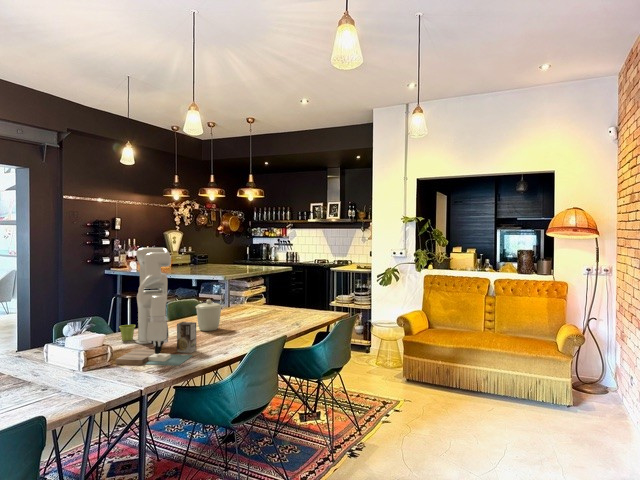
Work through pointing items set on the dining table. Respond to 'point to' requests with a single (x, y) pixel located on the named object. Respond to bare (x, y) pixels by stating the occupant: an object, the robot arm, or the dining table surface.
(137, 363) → the walnut deck
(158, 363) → the teal mat
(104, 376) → the dining table surface
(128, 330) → the plant pot
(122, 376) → the dining table surface
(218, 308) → the canister
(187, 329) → the coffee box
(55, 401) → the dining table surface
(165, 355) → the tile
